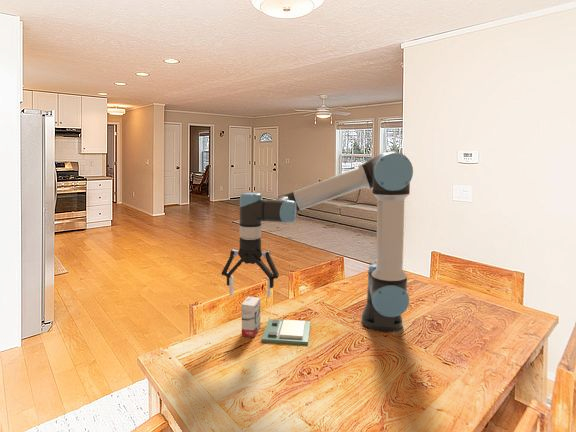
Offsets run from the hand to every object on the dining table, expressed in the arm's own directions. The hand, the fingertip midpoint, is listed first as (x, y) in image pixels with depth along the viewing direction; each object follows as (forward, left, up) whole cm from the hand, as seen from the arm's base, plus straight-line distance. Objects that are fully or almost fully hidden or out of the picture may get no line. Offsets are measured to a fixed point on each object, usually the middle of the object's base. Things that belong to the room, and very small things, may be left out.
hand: (250, 295), depth 136 cm
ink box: (0, 0, -14) cm, 14 cm away
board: (-13, -1, -14) cm, 19 cm away
